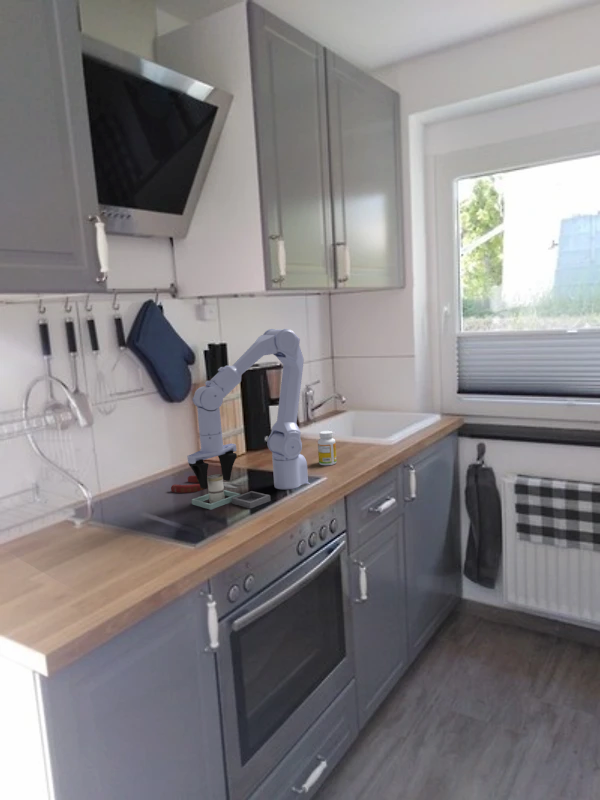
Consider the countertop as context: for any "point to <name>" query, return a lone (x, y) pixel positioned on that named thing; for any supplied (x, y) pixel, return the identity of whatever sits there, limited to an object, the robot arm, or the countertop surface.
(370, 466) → the countertop surface
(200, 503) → the teal rectangular frame
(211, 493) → the cylinder
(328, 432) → the supplement bottle
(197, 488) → the pliers
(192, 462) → the robot arm
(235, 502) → the socket block
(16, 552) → the countertop surface
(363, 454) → the countertop surface
